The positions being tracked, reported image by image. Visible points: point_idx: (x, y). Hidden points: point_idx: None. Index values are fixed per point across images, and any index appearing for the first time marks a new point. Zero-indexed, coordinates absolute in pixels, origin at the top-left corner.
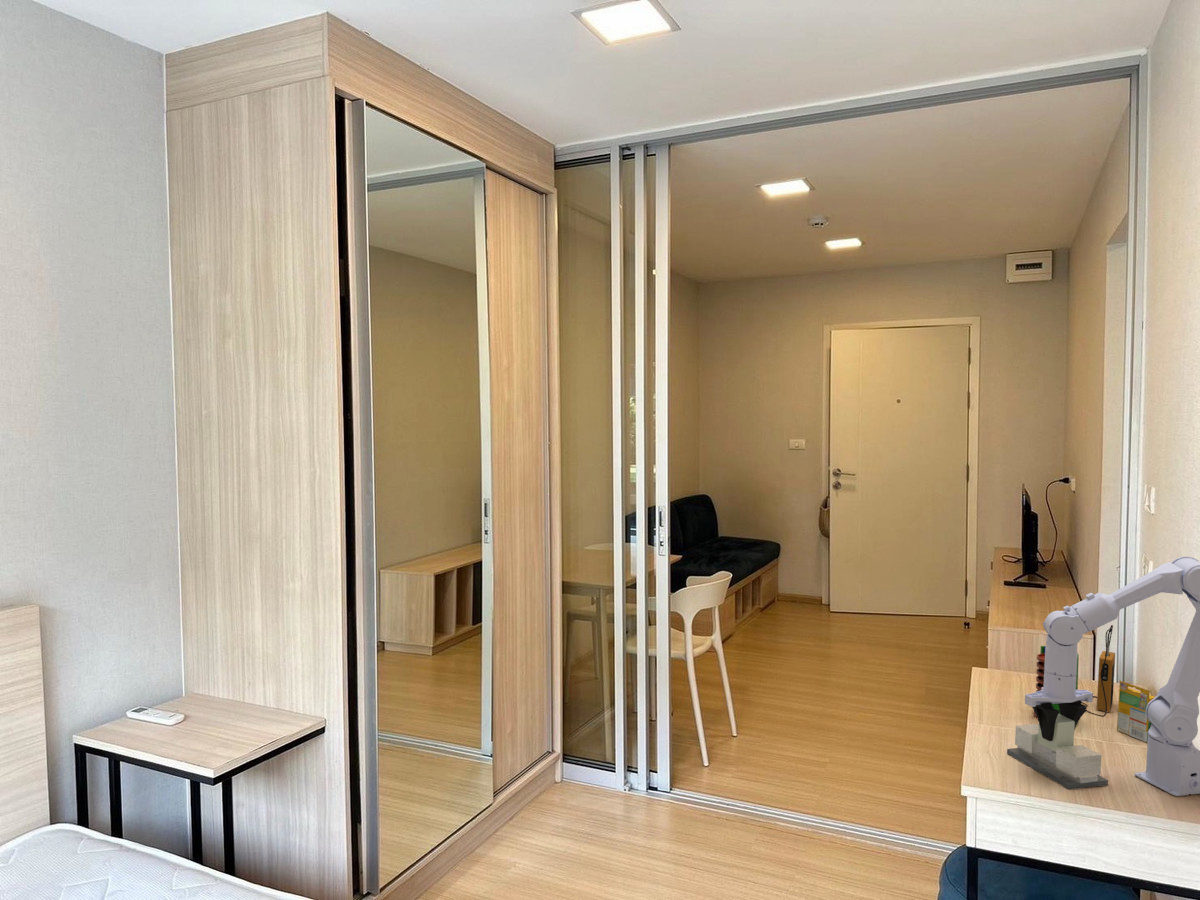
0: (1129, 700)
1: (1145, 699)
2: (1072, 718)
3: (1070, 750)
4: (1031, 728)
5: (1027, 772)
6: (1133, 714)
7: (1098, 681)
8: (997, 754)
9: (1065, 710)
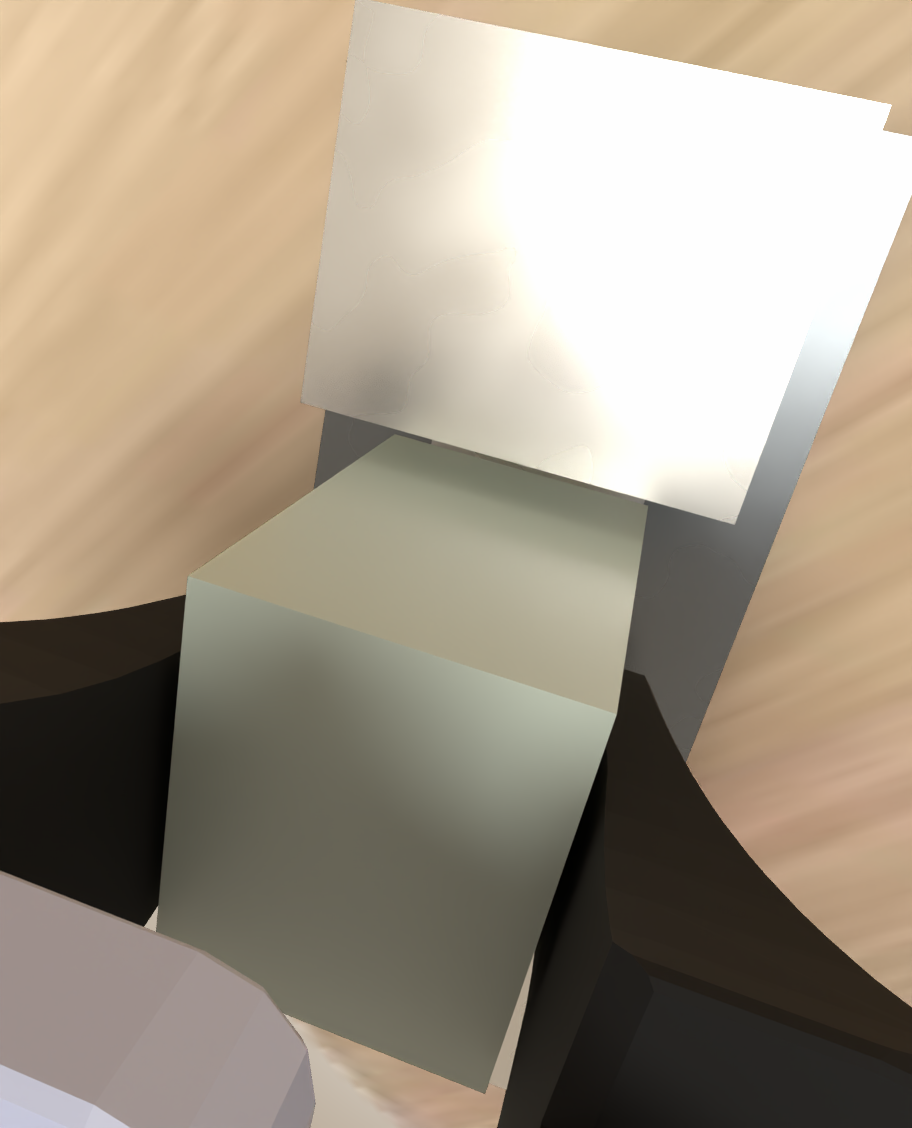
0: None
1: None
2: (511, 1075)
3: None
4: (497, 223)
5: (235, 463)
6: None
7: None
8: (287, 11)
9: (546, 1026)
